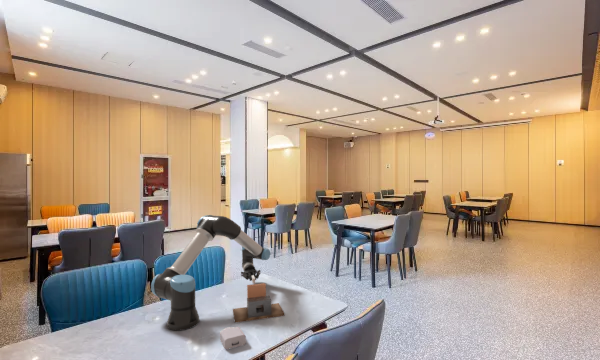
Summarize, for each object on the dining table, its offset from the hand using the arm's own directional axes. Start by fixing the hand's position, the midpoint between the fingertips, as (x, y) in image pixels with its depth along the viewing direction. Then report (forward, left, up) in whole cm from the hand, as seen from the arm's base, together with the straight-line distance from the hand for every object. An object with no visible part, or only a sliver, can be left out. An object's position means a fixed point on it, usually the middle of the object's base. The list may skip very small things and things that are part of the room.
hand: (254, 280), depth 184 cm
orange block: (0, -16, -10) cm, 19 cm away
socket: (0, -23, -10) cm, 25 cm away
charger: (-16, -42, -12) cm, 47 cm away
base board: (0, -19, -12) cm, 22 cm away
